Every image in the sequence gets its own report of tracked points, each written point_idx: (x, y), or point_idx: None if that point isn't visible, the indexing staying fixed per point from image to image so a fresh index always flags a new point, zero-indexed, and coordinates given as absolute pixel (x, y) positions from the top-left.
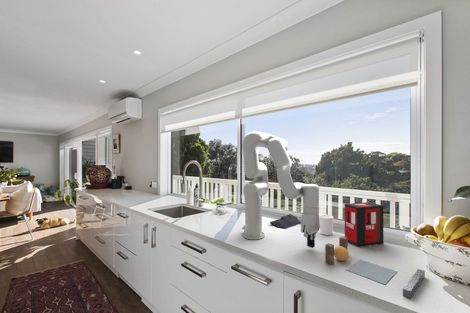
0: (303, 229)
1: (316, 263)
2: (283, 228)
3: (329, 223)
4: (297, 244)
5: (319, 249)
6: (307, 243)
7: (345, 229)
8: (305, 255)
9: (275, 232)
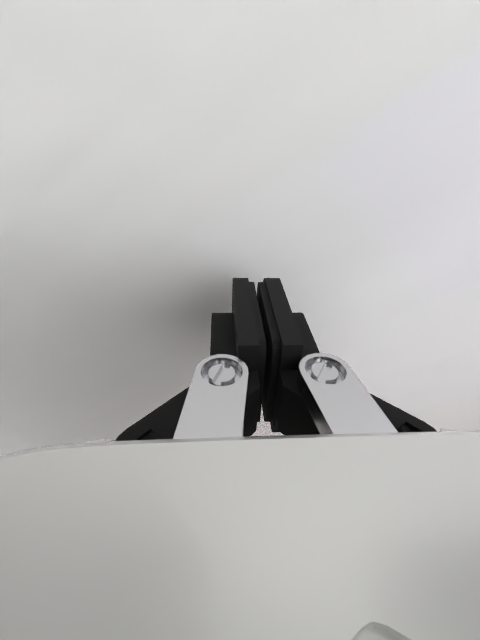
0: (13, 607)
1: (45, 444)
2: None
3: None
4: (288, 27)
5: (324, 343)
6: (234, 299)
7: None
8: (71, 332)
9: None
